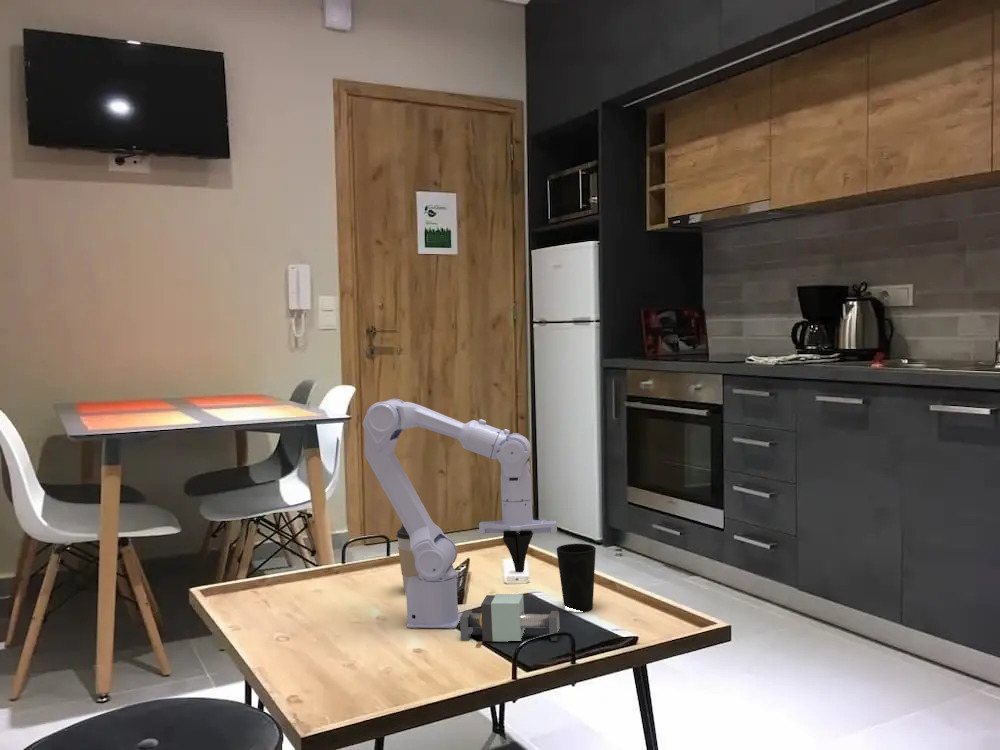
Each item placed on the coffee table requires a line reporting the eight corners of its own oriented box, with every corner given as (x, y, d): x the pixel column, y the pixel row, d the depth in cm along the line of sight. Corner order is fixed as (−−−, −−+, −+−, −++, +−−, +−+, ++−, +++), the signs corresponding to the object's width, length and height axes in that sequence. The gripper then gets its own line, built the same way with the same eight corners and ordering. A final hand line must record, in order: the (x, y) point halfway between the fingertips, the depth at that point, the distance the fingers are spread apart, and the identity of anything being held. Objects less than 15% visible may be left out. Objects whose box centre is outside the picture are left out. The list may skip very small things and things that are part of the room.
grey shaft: (457, 647, 152) (455, 622, 152) (465, 632, 159) (464, 609, 159) (555, 648, 149) (554, 623, 149) (559, 633, 156) (558, 610, 156)
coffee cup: (449, 588, 188) (446, 520, 188) (424, 600, 181) (420, 528, 180) (416, 584, 193) (413, 517, 193) (390, 594, 186) (387, 525, 185)
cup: (596, 614, 166) (593, 553, 166) (556, 614, 168) (554, 552, 167) (599, 602, 174) (597, 543, 173) (561, 602, 175) (559, 543, 175)
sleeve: (492, 641, 153) (490, 603, 153) (497, 630, 159) (496, 594, 159) (520, 641, 152) (518, 603, 152) (524, 631, 158) (523, 594, 158)
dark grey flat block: (482, 641, 154) (481, 604, 153) (488, 630, 159) (486, 595, 159) (492, 641, 153) (491, 604, 153) (497, 630, 159) (496, 595, 159)
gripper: (474, 503, 160) (478, 576, 160) (552, 502, 157) (556, 576, 158) (481, 496, 167) (484, 566, 167) (556, 495, 164) (559, 566, 165)
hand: (519, 570), depth 163 cm, fingers closed
